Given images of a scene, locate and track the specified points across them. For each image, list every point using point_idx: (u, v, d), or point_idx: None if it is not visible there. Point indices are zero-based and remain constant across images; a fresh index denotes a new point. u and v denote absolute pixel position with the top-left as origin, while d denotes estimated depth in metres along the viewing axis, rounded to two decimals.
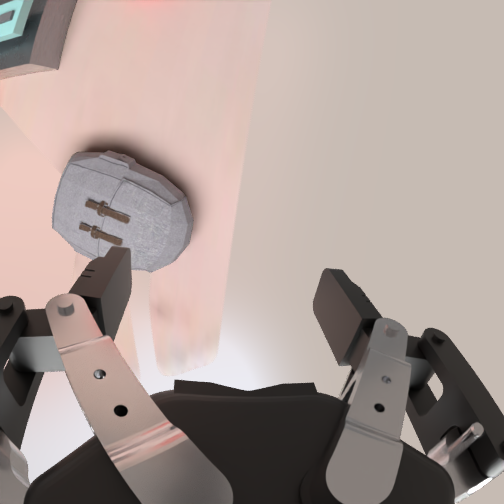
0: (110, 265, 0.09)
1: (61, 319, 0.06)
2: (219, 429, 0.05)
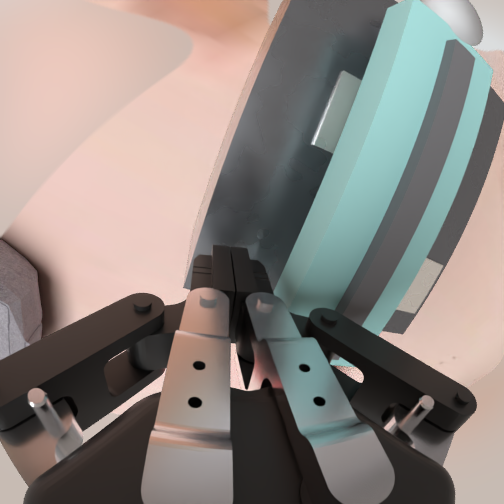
0: (224, 262, 0.11)
1: (212, 312, 0.08)
2: None
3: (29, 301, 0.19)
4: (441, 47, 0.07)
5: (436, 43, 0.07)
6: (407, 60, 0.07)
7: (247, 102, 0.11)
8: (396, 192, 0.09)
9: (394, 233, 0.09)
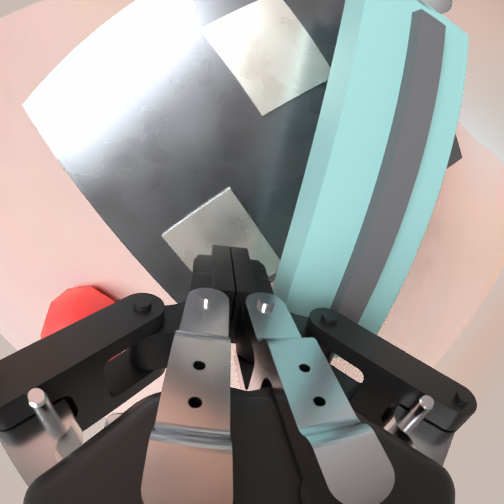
0: (224, 262, 0.11)
1: (212, 312, 0.08)
2: None
3: None
4: (407, 20, 0.06)
5: (401, 17, 0.06)
6: (371, 40, 0.07)
7: None
8: (378, 178, 0.09)
9: (381, 221, 0.09)
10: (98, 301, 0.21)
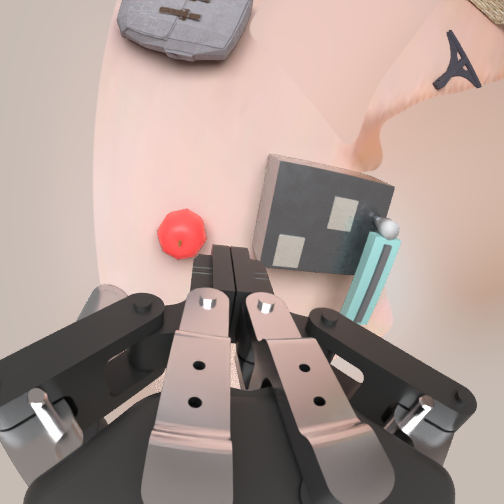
0: (224, 262, 0.11)
1: (212, 312, 0.08)
2: None
3: (217, 58, 0.34)
4: (382, 246, 0.40)
5: (380, 246, 0.40)
6: (372, 255, 0.40)
7: (344, 174, 0.39)
8: (369, 283, 0.43)
9: (369, 292, 0.43)
10: None
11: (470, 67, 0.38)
